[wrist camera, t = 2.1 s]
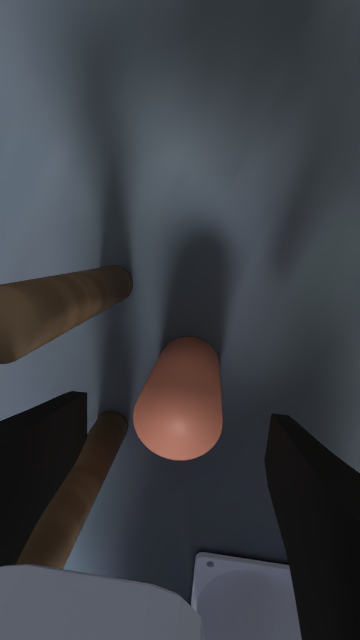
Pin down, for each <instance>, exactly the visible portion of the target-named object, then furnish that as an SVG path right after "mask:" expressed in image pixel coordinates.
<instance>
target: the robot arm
mask: <svg viewBox="0 0 360 640" xmlns="http://www.w3.org/2000/svg"><path fill="white" fill-rule="evenodd" d="M86 440H87V393H84V392H75V391H71V392H68V393H65V394H63V395H60V396H58V397H56V398H53V399H51V400H49V401H47V402H45V403H42V404H40V405H38V406H36V407H33V408H31V409H29V410H27V411H24V412H22V413H19V414H17V415H14V416H12V417H9V418H7V419H4V420H2V421H0V640H360V473H358V472H357V471H356V470H354V469H353V468H351V467H350V466H349V465H347V464H346V463H345V462H343V461H342V460H341V459H339V458H338V457H337V456H336V455H334V454H333V453H332V452H331V451H329V450H328V449H327V448H326V447H324V446H323V445H322V444H321V443H320V442H319V441H317V440H316V439H315V438H314V437H313V436H312V435H311V434H309V433H308V432H307V431H306V430H305V429H304V428H303V427H302V426H300V425H299V424H298V423H297V422H296V421H295V420H294V419H292V418H291V417H290V416H288V415H280V414H272V415H271V422H270V428H269V435H268V441H267V448H266V454H265V468H266V475H267V482H268V488H269V491H270V495H271V499H272V503H273V506H274V510H275V514H276V517H277V521H278V524H279V528H280V532H281V535H282V539H283V542H284V546H285V550H286V554H287V558H288V562H289V565H285V564H278V563H272V562H265V561H259V560H252V559H245V558H239V557H232V556H226V555H219V554H213V553H206V552H200V553H198V554H197V555H196V557H195V567H194V577H193V587H192V597H191V606H190V605H189V604H188V603H187V602H186V601H185V600H184V599H183V598H182V597H181V596H180V595H179V594H178V593H175V592H172V591H170V590H167V589H164V588H162V587H159V586H156V585H154V584H150V583H144V582H137V581H131V580H125V579H119V578H113V577H107V576H100V575H94V574H88V573H82V572H76V571H70V570H64V569H57V568H51V567H45V566H39V565H33V564H23V565H16V563H17V561H18V559H19V557H20V555H21V553H22V551H23V549H24V547H25V545H26V543H27V541H28V539H29V537H30V535H31V533H32V531H33V530H34V528H35V526H36V524H37V522H38V521H39V519H40V517H41V516H42V514H43V512H44V511H45V509H46V508H47V506H48V505H49V503H50V502H51V500H52V498H53V497H54V495H55V494H56V492H57V491H58V489H59V488H60V486H61V485H62V483H63V482H64V480H65V479H66V477H67V475H68V474H69V472H70V471H71V469H72V468H73V466H74V464H75V463H76V461H77V459H78V457H79V455H80V453H81V451H82V449H83V446H84V444H85V442H86ZM209 561H212V562H209Z"/></svg>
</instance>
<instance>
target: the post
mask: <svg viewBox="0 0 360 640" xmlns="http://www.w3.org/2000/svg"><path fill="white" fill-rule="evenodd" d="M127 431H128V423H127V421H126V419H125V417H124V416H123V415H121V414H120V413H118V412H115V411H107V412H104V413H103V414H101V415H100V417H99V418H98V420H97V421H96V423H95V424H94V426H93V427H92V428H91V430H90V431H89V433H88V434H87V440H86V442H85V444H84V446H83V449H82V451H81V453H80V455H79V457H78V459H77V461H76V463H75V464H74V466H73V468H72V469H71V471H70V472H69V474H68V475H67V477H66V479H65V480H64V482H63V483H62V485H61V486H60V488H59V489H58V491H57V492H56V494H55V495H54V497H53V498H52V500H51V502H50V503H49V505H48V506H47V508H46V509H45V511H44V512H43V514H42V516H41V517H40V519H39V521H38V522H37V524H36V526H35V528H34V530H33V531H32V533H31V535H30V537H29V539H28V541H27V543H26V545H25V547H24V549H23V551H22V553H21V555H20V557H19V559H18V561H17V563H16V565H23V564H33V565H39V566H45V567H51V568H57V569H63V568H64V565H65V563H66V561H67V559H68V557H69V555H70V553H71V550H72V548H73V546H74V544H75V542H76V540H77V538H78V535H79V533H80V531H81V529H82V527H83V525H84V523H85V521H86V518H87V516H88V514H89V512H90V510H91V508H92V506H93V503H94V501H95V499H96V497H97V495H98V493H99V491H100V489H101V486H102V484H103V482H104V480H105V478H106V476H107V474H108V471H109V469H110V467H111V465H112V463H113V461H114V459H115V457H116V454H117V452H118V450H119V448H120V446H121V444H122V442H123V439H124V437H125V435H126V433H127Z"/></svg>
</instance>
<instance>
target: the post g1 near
mask: <svg viewBox="0 0 360 640" xmlns="http://www.w3.org/2000/svg"><path fill="white" fill-rule="evenodd" d="M132 287H133V281H132V278H131V276H130V274H129V273H128V271H127V270H125V269H124V268H122V267H120V266H108V267H102V268H96V269H91V270H85V271H79V272H73V273H67V274H61V275H55V276H49V277H43V278H37V279H31V280H26V281H20V282H14V283H8V284H2V285H0V364H7V363H11V362H14V361H16V360H18V359H20V358H21V357H23V356H25V355H27V354H28V353H30V352H32V351H34V350H35V349H37V348H39V347H41V346H43V345H44V344H46V343H48V342H50V341H51V340H53V339H55V338H57V337H58V336H60V335H62V334H64V333H65V332H67V331H69V330H71V329H72V328H74V327H76V326H78V325H80V324H81V323H83V322H85V321H87V320H88V319H90V318H92V317H94V316H95V315H97V314H99V313H101V312H102V311H104V310H106V309H108V308H109V307H111V306H113V305H115V304H116V303H118V302H120V301H122V300H124V299H125V298H127V297H128V296H129V294H130V293H131V291H132Z"/></svg>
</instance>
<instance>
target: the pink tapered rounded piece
mask: <svg viewBox="0 0 360 640" xmlns="http://www.w3.org/2000/svg"><path fill="white" fill-rule="evenodd" d="M133 422H134V427H135V430H136V433H137V435H138V437H139V438H140V440H141V441H142V442H143V444H144V445H145V446H146V447H147V448H148V449H150V450H151V451H152V452H154V453H156V454H157V455H159V456H162V457H164V458H167V459H172V460H189V459H194V458H197V457H199V456H202V455H203V454H205V453H207V452H208V451H209V450H210V449H211V448H212V447H213V446H214V445H215V444H216V442H217V441H218V439H219V437H220V434H221V431H222V423H223V419H222V401H221V383H220V366H219V359H218V356H217V354H216V352H215V350H214V349H213V348H212V347H211V346H210V345H209V344H208V343H207V342H205V341H203V340H201V339H199V338H196V337H180V338H177V339H175V340H173V341H171V342H170V343H168V344H167V345H166V346H165V347H164V349H163V350H162V352H161V354H160V356H159V358H158V360H157V362H156V364H155V366H154V368H153V370H152V372H151V374H150V376H149V378H148V380H147V382H146V384H145V386H144V388H143V390H142V392H141V394H140V396H139V398H138V400H137V402H136V404H135V408H134V413H133Z"/></svg>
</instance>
